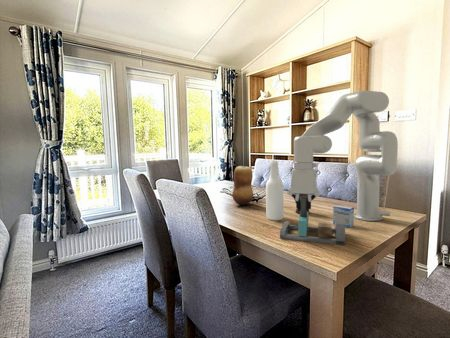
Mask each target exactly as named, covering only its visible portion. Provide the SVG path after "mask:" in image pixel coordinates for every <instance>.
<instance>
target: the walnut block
mask: <svg viewBox="0 0 450 338" xmlns="http://www.w3.org/2000/svg"><path fill="white" fill-rule="evenodd" d="M317 227H318V232H317V237H320V238H330V239H333V238H332V236H333V235H332V234H333V233H332V228H333V227H332V223H329V222H328V223H327V222H318V224H317Z"/></svg>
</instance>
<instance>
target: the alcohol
mask: <svg viewBox="0 0 450 338" xmlns="http://www.w3.org/2000/svg"><path fill="white" fill-rule="evenodd" d="M269 164H270V166H269V167H270V169H269V179H268V180H267V181H266V183H265V207H266V209H265V210H266V211H265V213H266V215H265V216H266V219H268V220H270V221H281V220H283V218H284V217H285V216H284V213H285V212H284V210H285V209H284V206H285V205H284V182H283V181H282V180H281V177H280V173H279V172H280V171H279V160H278V159H277V160H275V159H274V160H270V163H269Z"/></svg>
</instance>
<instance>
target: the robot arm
mask: <svg viewBox="0 0 450 338" xmlns="http://www.w3.org/2000/svg"><path fill="white" fill-rule="evenodd" d="M389 104H390V98H389V96H388V94H386V93H385V92H383V91H377V90H376V91H374V90H358V91H354V92H349V93H346V94H343V95H341V96H340V97H339V98H338V99H337V101H336V102H335V103H334V104H333V106H331V108H330V109H329V111H328V112H327V114H325V116H323V117H321V118H320V119H319V120H317V121H316V122H314V123H312V124H311V125H310V126H309V127H308V128H307V129H306V130H305V131H304V132H303V134H302V135H301V136H299V135H298V136H295V137H294V139H293V169H292V170H291V176H290V177H291V178H290V187H289V189H288V190H287V195H288V196H290V197H291V198H292V199H294V201H295V200H296V202H295V206H296V207H295V208H296V209H297V208H298V211H299V210H300V199H299V194H308V201H307V211H309V212H310V210H311V209H312V201H313V200H315V198H317V197H320V196H321V192H320V190H319V189H318V186H317V185H318V184H317V174H316V173H317V172H316V169H314V168H317V167H318V164H317V163H315V162H314V154H325V153H327V152H329V151H330V150H331V149H332V146H333V141H332V139H331V138H330V137H329V136H327V134H330V133H333V132H335V131H337V130H340V129H342V128H343V126H344V125H345V124H346V123H347V121H348V120H349V118H350V117H351V115H353V116H354V117H355V118H356V120H357V121H358V125H359V126H358V127H359V130H358V131H359V132H358V133H359V134H358V135H359V136H358V137H359V139H358V141H359V142H358V145H359V149H360V151H362V152H365V153H366V152H367V153H368V152H369V153H381V154H363V155H360V156H358V157H357V158H356V160H355V163H354V164H355V171H356V175H357V176H356V179H357V183H356V186H357V188H356V190H357V193H356V196H357V197H356V212H354V219H357V220H361V221H367V222H368V221H369V222H378V221H380V222H381V221H382V220H383V216H386V217H391V212H390V211H385V210H381V209H380V181H379V179H378V177H377V176H385V177H387V176H392V175H393V174H395V173H396V171H397V167H398V149H399V147H398V146H399V144H398V143H399V140H398V138H397V136H396V134H395V133H394V132H392V131H389V130H388V131H387V130H386V131H385V130H384V131H381V129H380V128H381V126H380V125H381V124H380V120H379V119H380V118H379V117H378V116H377V114H375V113H380V112H383V111H385V110H387V108H388V107H389ZM295 194H296V195H295Z"/></svg>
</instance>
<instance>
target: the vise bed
mask: <svg viewBox="0 0 450 338" xmlns="http://www.w3.org/2000/svg"><path fill="white" fill-rule="evenodd" d="M289 230H298V224H297V225H296V224H290V221H287V220H285V221H284V222H283V224H282V226H281V228H280V230H279V239H284V240H293V241H294V240H295V241H300V242H301V241H302V242H309V243H310V242H312V243H320V244H328V245H329V244H330V245H331V244H332V245H338V246H346V227H345V222H344V218H343V214H335V225H334V228H333V227H332V234H334V238H332V239H330V238H320V237H318V236H308V235H307V236H306V237H304V236H298V234H289V233H288V232H289ZM309 231H310V232H317V233H318V226H309V225H308V230H307V232H309Z"/></svg>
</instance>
